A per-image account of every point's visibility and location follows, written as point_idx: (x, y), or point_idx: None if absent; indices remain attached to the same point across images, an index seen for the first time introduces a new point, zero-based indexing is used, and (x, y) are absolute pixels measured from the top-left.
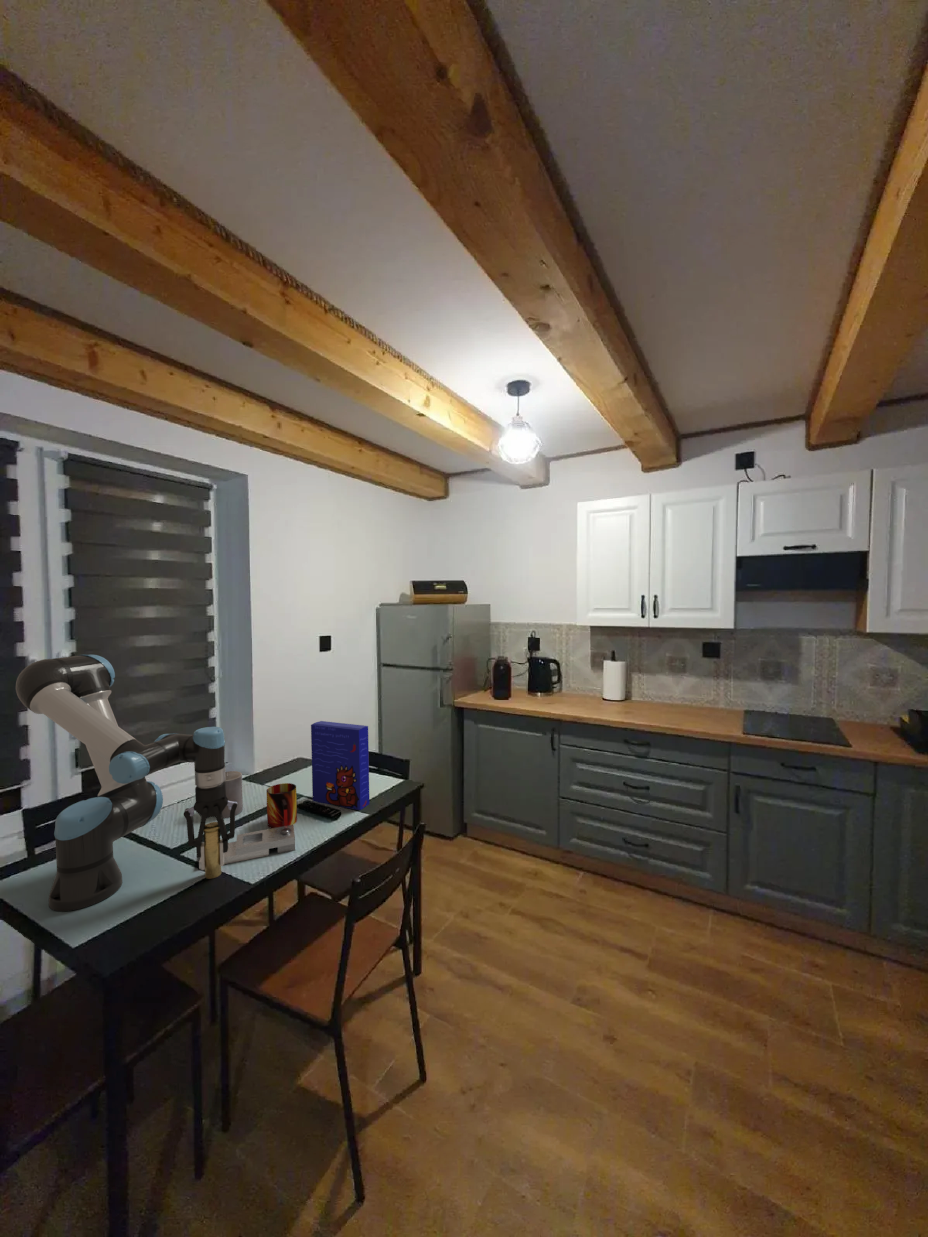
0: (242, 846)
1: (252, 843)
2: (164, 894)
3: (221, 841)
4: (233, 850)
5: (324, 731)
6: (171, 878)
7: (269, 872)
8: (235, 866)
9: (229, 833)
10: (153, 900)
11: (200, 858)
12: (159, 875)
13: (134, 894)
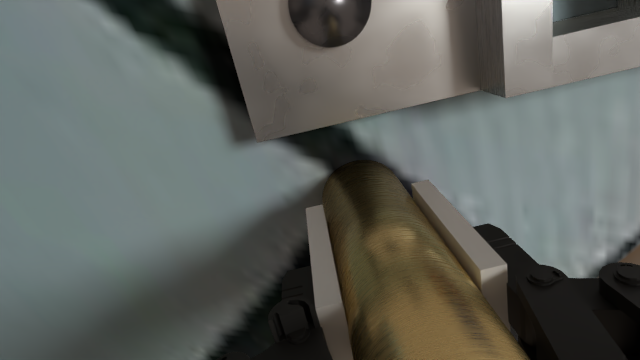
0: (555, 72)
1: (630, 34)
2: (184, 320)
3: (495, 310)
4: (455, 10)
5: None
6: (137, 196)
7: (636, 221)
8: (464, 133)
9: (612, 330)
10: (159, 353)
11: (243, 86)
12: (39, 153)
13: (28, 304)
